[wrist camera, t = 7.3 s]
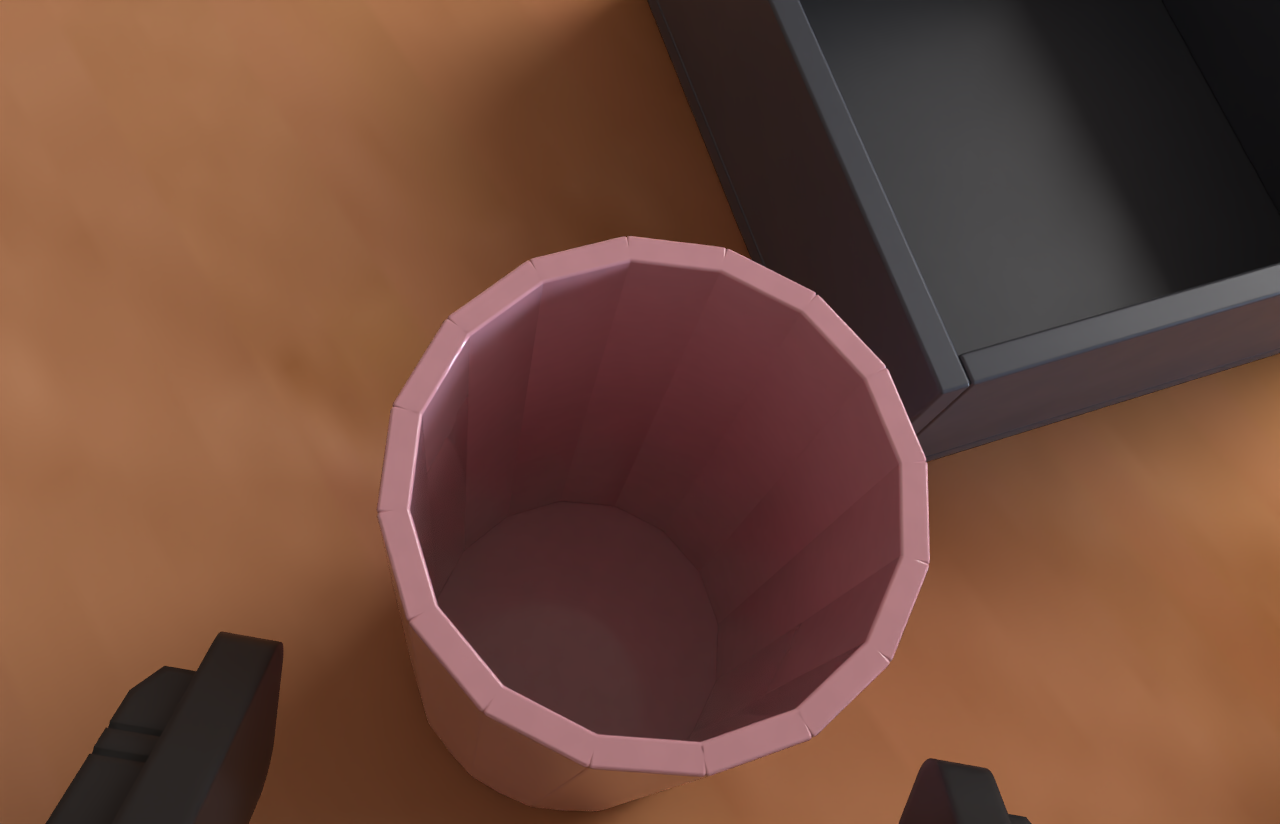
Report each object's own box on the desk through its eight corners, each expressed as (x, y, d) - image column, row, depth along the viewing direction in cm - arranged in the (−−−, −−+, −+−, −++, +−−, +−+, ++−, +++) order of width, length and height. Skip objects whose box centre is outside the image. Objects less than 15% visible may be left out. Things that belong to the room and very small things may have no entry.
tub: (1103, -106, 32) (1227, -291, 27) (1344, 333, 29) (1541, 217, 23) (639, -18, 29) (678, -207, 24) (842, 488, 26) (941, 394, 20)
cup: (668, 459, 25) (812, 188, 15) (772, 748, 23) (1016, 666, 13) (377, 544, 24) (318, 308, 14) (466, 858, 22) (475, 860, 12)
